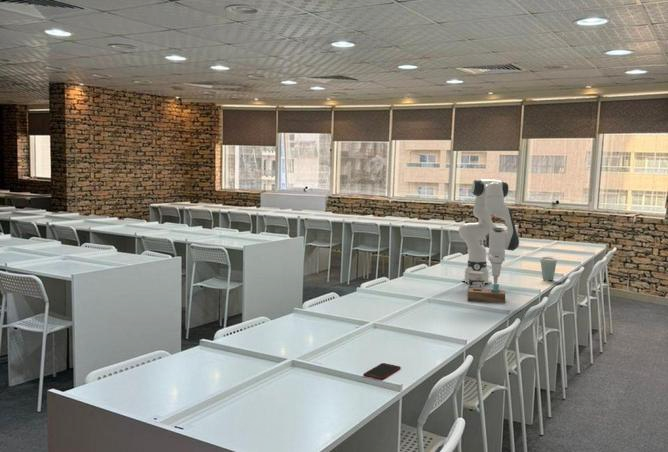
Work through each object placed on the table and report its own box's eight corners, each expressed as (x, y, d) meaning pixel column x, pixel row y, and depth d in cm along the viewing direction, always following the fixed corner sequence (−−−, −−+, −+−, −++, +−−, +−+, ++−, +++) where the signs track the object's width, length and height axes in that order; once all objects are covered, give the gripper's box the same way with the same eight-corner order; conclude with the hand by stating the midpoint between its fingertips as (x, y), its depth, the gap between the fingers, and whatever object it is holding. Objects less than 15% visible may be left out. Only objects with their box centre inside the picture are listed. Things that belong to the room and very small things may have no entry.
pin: (492, 297, 320) (493, 283, 319) (498, 297, 319) (498, 283, 318) (492, 298, 317) (493, 284, 316) (498, 299, 316) (498, 284, 315)
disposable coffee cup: (559, 281, 378) (560, 258, 377) (546, 282, 374) (547, 259, 373) (548, 278, 388) (549, 256, 387) (535, 279, 384) (536, 257, 383)
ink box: (467, 291, 342) (468, 271, 340) (469, 289, 346) (470, 270, 345) (481, 292, 338) (482, 273, 337) (483, 291, 342) (484, 271, 341)
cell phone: (362, 376, 196) (362, 374, 196) (382, 365, 208) (382, 362, 208) (382, 381, 192) (382, 378, 192) (401, 369, 204) (401, 366, 204)
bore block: (468, 296, 327) (468, 287, 327) (504, 298, 322) (504, 289, 322) (467, 300, 316) (467, 291, 315) (505, 303, 311) (505, 294, 310)
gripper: (490, 254, 327) (489, 277, 328) (490, 259, 307) (489, 285, 308) (501, 254, 325) (500, 278, 326) (502, 260, 305) (501, 285, 307)
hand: (495, 281), depth 317 cm, fingers open, 8 cm apart
